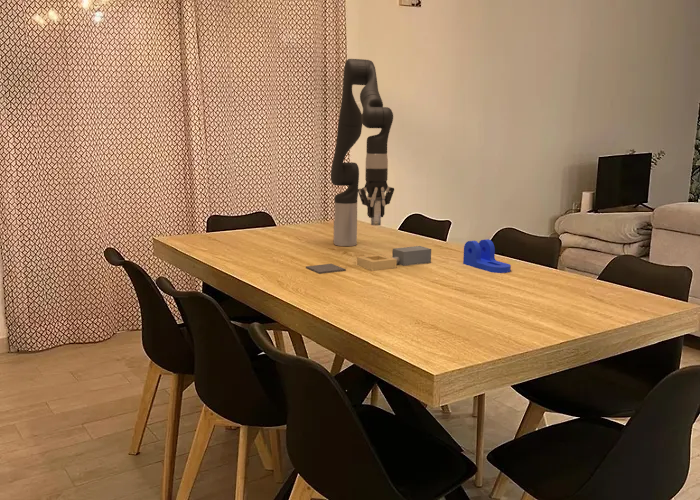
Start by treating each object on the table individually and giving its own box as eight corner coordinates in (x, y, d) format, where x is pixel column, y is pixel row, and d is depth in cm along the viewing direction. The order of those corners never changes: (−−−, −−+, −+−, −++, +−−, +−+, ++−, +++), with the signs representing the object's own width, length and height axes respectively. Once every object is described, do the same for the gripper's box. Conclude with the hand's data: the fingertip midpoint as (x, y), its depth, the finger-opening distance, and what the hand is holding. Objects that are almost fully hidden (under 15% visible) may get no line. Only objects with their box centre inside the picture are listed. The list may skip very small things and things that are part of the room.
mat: (305, 268, 241) (305, 266, 241) (331, 265, 246) (331, 263, 246) (319, 273, 232) (319, 272, 232) (345, 270, 237) (345, 269, 237)
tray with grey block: (371, 270, 238) (372, 256, 237) (356, 265, 246) (356, 251, 246) (433, 263, 251) (433, 249, 250) (416, 258, 260) (417, 245, 259)
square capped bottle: (369, 224, 242) (369, 196, 241) (377, 223, 244) (377, 196, 242) (374, 225, 240) (374, 197, 238) (382, 225, 241) (383, 197, 240)
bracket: (463, 264, 251) (464, 239, 249) (481, 262, 255) (482, 237, 253) (496, 274, 236) (498, 248, 234) (515, 271, 240) (517, 246, 238)
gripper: (388, 165, 245) (387, 214, 248) (353, 166, 238) (352, 217, 241) (400, 167, 239) (399, 217, 242) (364, 168, 232) (363, 220, 235)
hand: (375, 217), depth 241 cm, fingers closed on square capped bottle, 3 cm apart
